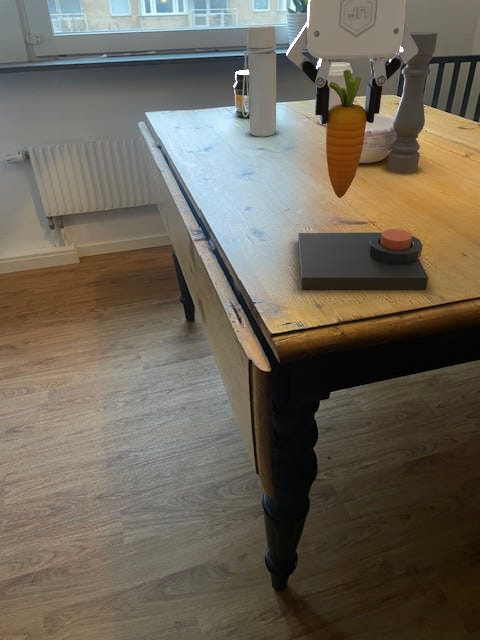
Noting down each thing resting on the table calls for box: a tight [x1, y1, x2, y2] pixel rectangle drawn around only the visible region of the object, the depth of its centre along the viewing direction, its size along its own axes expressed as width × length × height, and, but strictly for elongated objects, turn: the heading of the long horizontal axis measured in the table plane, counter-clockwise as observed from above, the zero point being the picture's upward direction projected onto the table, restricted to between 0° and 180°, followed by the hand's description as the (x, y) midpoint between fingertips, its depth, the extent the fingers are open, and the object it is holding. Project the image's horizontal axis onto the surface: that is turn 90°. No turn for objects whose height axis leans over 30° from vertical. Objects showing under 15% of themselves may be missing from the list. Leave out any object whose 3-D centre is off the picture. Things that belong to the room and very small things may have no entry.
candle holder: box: [386, 31, 439, 175], centre depth 98 cm, size 6×6×25 cm
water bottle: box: [242, 24, 278, 138], centre depth 127 cm, size 9×8×25 cm
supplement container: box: [233, 69, 250, 119], centre depth 151 cm, size 10×10×12 cm
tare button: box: [380, 228, 413, 250], centre depth 68 cm, size 4×4×2 cm
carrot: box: [325, 70, 367, 199], centre depth 61 cm, size 5×5×15 cm
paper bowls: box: [359, 114, 397, 164], centre depth 111 cm, size 15×15×8 cm
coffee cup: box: [319, 61, 353, 126], centre depth 138 cm, size 10×10×15 cm
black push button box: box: [297, 231, 429, 291], centre depth 70 cm, size 16×14×4 cm
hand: (346, 119), depth 60 cm, fingers closed on carrot, 4 cm apart
